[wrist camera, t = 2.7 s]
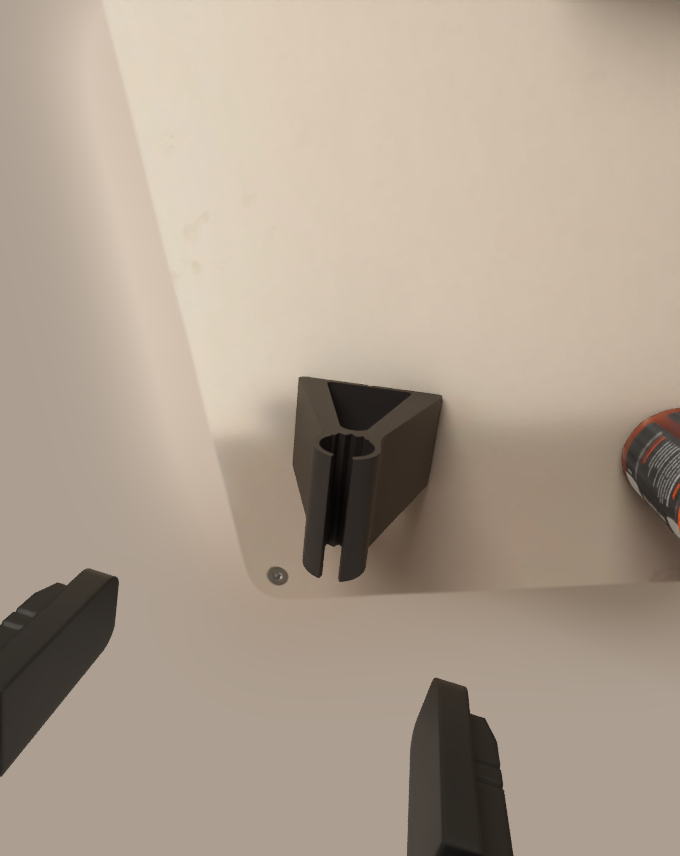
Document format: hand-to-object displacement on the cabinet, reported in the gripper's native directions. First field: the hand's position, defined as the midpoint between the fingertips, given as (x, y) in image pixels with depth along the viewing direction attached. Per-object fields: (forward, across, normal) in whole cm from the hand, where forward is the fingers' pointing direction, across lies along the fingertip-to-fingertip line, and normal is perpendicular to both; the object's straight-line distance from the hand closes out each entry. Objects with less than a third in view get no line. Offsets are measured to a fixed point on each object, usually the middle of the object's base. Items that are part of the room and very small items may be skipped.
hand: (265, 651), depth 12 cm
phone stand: (+22, 0, +2) cm, 22 cm away
